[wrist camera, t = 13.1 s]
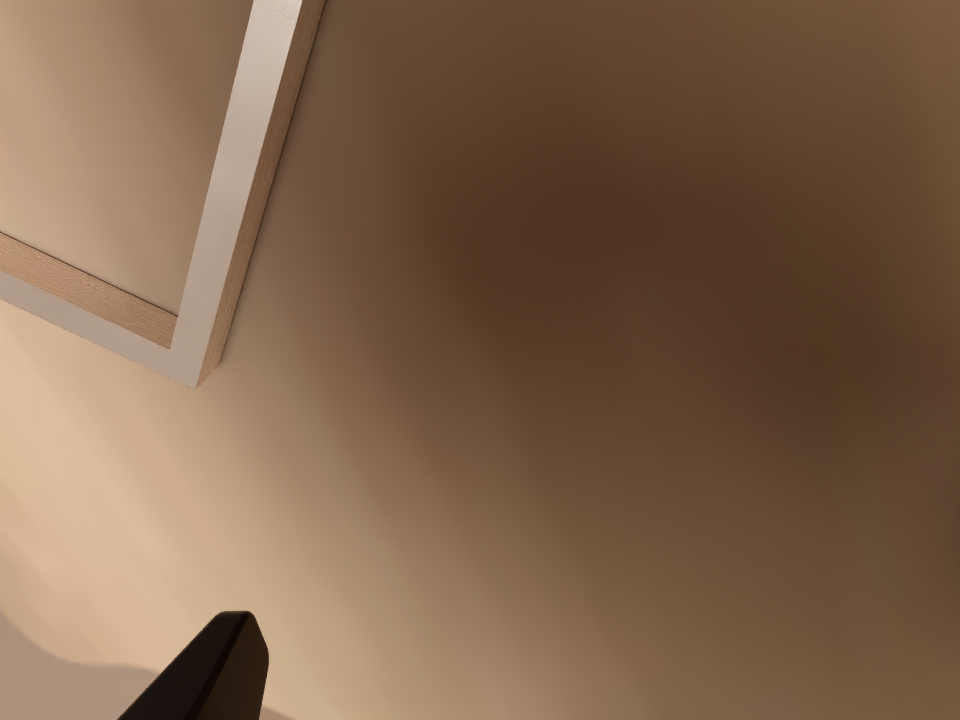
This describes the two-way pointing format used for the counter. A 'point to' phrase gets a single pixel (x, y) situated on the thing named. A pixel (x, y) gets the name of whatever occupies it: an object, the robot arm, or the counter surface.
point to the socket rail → (223, 228)
